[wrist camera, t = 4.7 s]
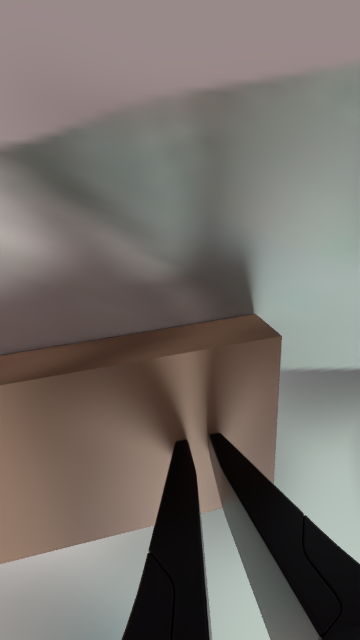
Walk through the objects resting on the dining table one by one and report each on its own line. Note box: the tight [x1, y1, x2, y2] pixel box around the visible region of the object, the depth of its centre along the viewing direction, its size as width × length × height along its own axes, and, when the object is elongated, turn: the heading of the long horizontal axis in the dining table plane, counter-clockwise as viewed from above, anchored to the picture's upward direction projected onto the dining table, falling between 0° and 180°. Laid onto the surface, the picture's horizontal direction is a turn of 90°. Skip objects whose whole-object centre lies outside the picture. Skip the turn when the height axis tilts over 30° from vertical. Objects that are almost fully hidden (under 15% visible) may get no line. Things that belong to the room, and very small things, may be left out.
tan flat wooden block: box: [0, 314, 282, 564], centre depth 10 cm, size 12×7×2 cm, turn 95°
